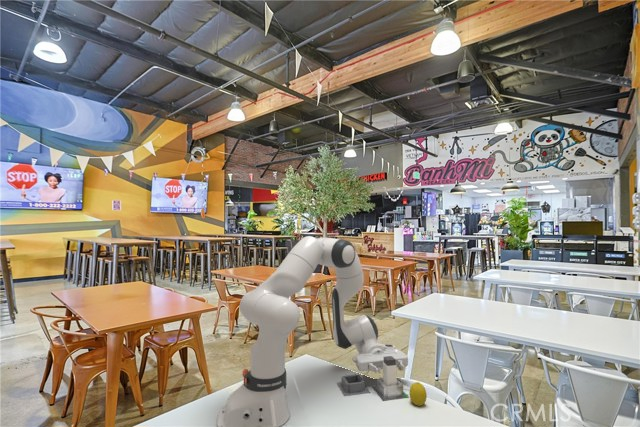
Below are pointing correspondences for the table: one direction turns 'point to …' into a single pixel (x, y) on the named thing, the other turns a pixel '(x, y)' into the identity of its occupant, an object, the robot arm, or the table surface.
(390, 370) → the plug
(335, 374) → the table surface
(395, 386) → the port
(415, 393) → the lemon
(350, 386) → the holster
